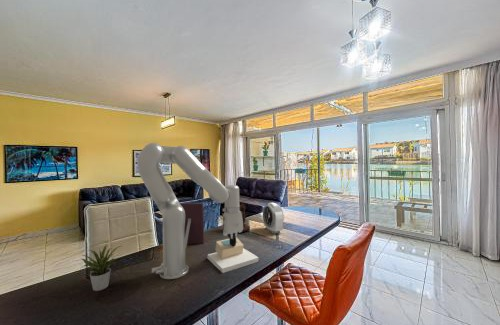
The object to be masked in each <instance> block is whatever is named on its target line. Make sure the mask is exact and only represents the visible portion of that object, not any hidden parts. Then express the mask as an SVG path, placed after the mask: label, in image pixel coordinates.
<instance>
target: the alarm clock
mask: <svg viewBox="0 0 500 325" xmlns="http://www.w3.org/2000/svg"><path fill="white" fill-rule="evenodd" d="M262 218H263V226H264V227H265V230H266V231H268V232H269V233H271V234H274V235H275V234H280V233H281V232H282V231H283V230H284V229H283V228H284V218H285V216H284V211H283V208H282V207H281V206H280V205H279V204H278V203H275V202H269V203H267V205H264V207H263V209H262Z"/></svg>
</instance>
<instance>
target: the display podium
mask: <svg viewBox="0 0 500 325" xmlns="http://www.w3.org/2000/svg"><path fill="white" fill-rule="evenodd" d="M207 260H209V262H210V263H212V264H213V265H214V267H216V268H217V269H218V270H219V271H220V272H221V273H222V274H225V273H227V272H230V271H235V270H237V269H239V268H240V269H241V268H242V267H245V266H249V265H252V264H254V263H255V264H256V263H258V262H259V260H260V258H259V256H257V255H256V254H254V253H252V252H250V251H249V250H248V249H245V248H244V247H243V253H242V254H238V255H235V256H231V257H228V258H224V259H221V257H220V256H219V254H218V253H217V251H215V252H213V253H208V254H207Z"/></svg>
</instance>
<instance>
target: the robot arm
mask: <svg viewBox="0 0 500 325" xmlns="http://www.w3.org/2000/svg"><path fill="white" fill-rule="evenodd" d="M136 163H137V164H136V165H137V166H136V167H137V172H138V174H139V176H140V178H141V180H142V182H143V183H144V186H145V187H146V189H147V191H148V193H149V195H150V198H151V199H152V200H153V202H154V203H155V206H157V208H158V210H159V211H160V213H161V218H162V262H161V265H159V266H157V267H156V266H155V267H152V268H151V273H152V274H154V273H155V274H156V275H157V274H159V276H160V278H161V279H164V280H175V279H179V278H182V277H184V276H186V274H188V273H189V271H190V269H189V268H190V267H189V265H187V264H186V249H185V211H184V209H183V207H182V206H181V205H180V203H181V202H180V201H179V200H178V198H177V197H176V194H175V193H174V191H173V188H172V187H171V185H170V184H169V182H168V181H167V179H166V177H165V175H164V174H163V171H162V169H161V167H160V163H161V164H172V165H173V164H175V165H177V166H178V167H179V169H181V171H182V172H184V173H185V175H187V176H188V177H189V179H190V180H192V181H193V182H194V183H195V184H197V185H199V187H201V188H202V189H203V190H204V191H205V192H206V193H207V194H208V197H209V198H210V200H212V201H214V202H215V203H218V204H224V208H222V212H224V213H223V214H222V225H221V226H222V232H223V233H222V236H224V237H228V239H229V238H230V245H231V246H236V238H238V235H239V234H240V233H243V232H242V230H243V219H242V214H241V211H240V208H239V205H240V187H239V186H238V185H234V184H231V185H224V184H222V182H221V181H220V180H219V179H218V177H216V176H215V175H214V174H213V173H212V172H210V170H208V169H207V168H206V167H205V166H204V165H203V164H202V163H201V162H200V160H199V159H198V158H197V157H196V156H195V155H194V154H193V153H192V152H191V150H189V148H188V147H186V146H184V145H179V146H178V145H177V146H170V145H169V146H168V145H161V144H159V143H157V142H151V143H150V142H149V143H148V144H146V145H145V146H144V147H143V148H142V149H141V151H140V152H139V155H138V157H137V161H136Z"/></svg>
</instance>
